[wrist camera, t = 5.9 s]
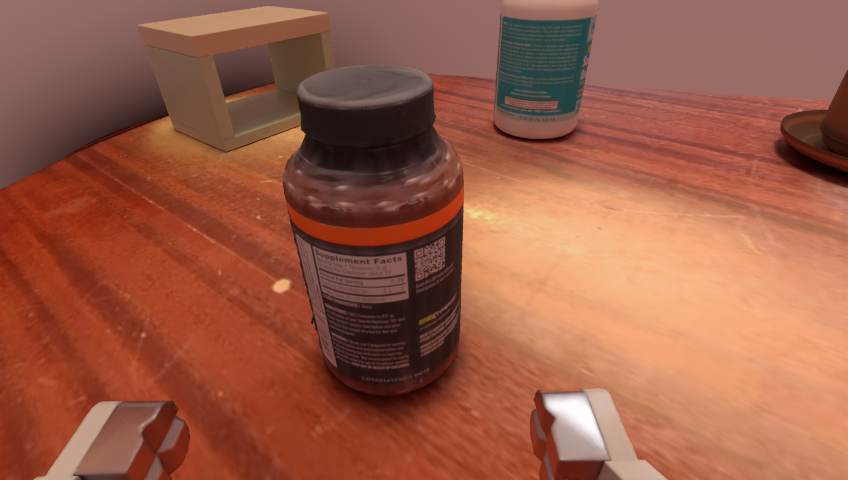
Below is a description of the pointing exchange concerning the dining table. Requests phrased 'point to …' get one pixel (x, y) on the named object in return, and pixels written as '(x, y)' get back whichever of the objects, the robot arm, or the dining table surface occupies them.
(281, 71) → the shelf
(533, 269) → the dining table surface
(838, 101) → the cup and saucer
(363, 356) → the supplement bottle
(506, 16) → the pill bottle
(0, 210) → the dining table surface
